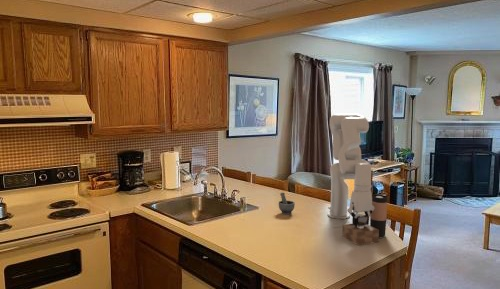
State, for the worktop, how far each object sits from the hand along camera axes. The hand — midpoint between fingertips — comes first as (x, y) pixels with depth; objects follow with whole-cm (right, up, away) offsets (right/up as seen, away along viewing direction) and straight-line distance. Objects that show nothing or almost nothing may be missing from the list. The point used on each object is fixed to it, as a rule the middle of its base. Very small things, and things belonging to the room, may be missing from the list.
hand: (360, 224), depth 175 cm
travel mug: (+11, -7, +7) cm, 14 cm away
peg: (0, -5, +1) cm, 5 cm away
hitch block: (0, -7, +1) cm, 7 cm away
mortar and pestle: (-32, -3, +42) cm, 53 cm away
